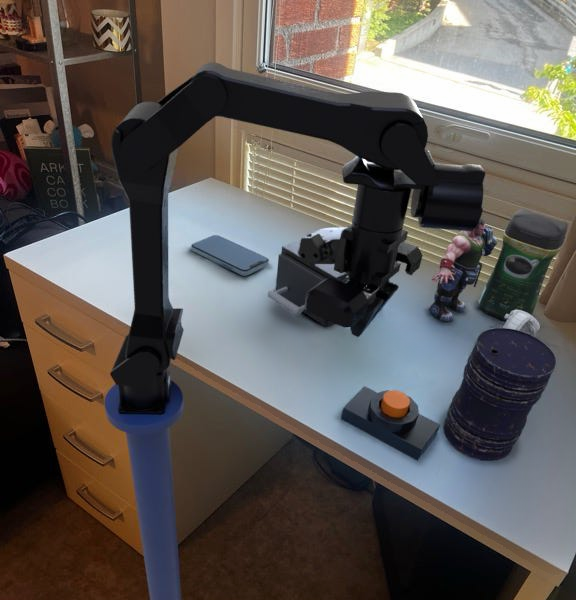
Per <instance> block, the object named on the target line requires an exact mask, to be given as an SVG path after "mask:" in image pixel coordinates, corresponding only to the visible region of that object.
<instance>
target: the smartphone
mask: <svg viewBox="0 0 576 600" xmlns="http://www.w3.org/2000/svg"><path fill="white" fill-rule="evenodd" d="M190 247H191V248H190V249H191V251H192V252H193V253H195V254H198V255H200V256H202V257H204V258H206V259H208V260H210V261H211V262H214V263H216V264H218V265H220V266H222V267H224V268H226V269H227V270H230V271H233V272H234V273H236V274H239V275H240V276H248V275H251V274H253V273H255V272H257V271H259V270H261V269H263V268H265V267H266V266H268V265H269V262H270V259H269V258H268V257H267V256H265V255H262V254H261V253H258V252H256V251H254V250H252V249H249V248H247V247H245V246H242V245H241V244H238V243H236V242H234V241H232V240H229V239H227V238H225V237H223V236H221V235H219V234H214V235H210V236H208V237H205V238H204V239H201V240H199V241H196V242H194V243H192V244H191V246H190Z"/></svg>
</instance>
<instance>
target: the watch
mask: <svg viewBox="0 0 576 600" xmlns="http://www.w3.org/2000/svg"><path fill="white" fill-rule="evenodd" d="M504 318H505V319H507V321H505V323H504V325H503V326H502V328H508V329H514V330H518V331H522V332H524V333H527V334H529V335H532V336H535V335H536V334H537V332H539V330H540V329H541V328H540V327H541V325H540V323H539V321H538V319H537V318H535V316H533V314H532V315H530V314H529V313H527V312H524V311H522V310H513V311H511V313H510V314H506V315H505V317H504Z"/></svg>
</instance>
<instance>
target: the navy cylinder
mask: <svg viewBox="0 0 576 600" xmlns="http://www.w3.org/2000/svg"><path fill="white" fill-rule="evenodd" d="M466 361H467V362H466V364H465V366H464V369H463V374H462V377H463V378H462V381H461V384H460V386H459V387H458V389H457V391H456V392H455V393H454V395H453V397H452V400H451V402H450V404H449V407H448V410H447V414H446V417H445V419H444V422H443V427H442V429H443V434H444V436H445V438H446V440H447V441H448V443H450V445H451V446H452V447H453V448H454V449H455V450H457V451H458V452H459V453H461V454H463V455H465V456H466V457H469V458H471V459H474V460H477V461H478V460H479V461H482V462H497V461H500V460H503V459H505V458H506V457H508V456H509V455H510V454H511V452H512V451H513V448H514V446H515V444H516V443H517V442H518V440H519V439H520V437H521V436H522V433H523V430H524V429H525V427H526V425H527V421H528V416H529V415H530V412H531V410H532V408H533V406H534V405H535V404H537V402H539V400H540V399H541V397H542V395H543V393H544V391H546V387H547V386H548V385H549V381H550V378H551V376H552V374H553V373H554V371H555V369H556V366H557V357H556V355H555V353H554V352H553V350H552V349H551V348H550V347H549V346H548V345H547V344H546V343H545V342H543V341H542V340H540V339H539V338H537V337H535V335H533V336H532V335H529V334H527V333H524V332H522V331H518V330H514V329H509V328H503V327H493V328H488V329H485V330H484V331H481V332H480V333H479V334H478V336H477V338H476V340H475V343H474V345H473V348H472V350H471V351H470V353H469V355H468V358H467V360H466Z"/></svg>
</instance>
